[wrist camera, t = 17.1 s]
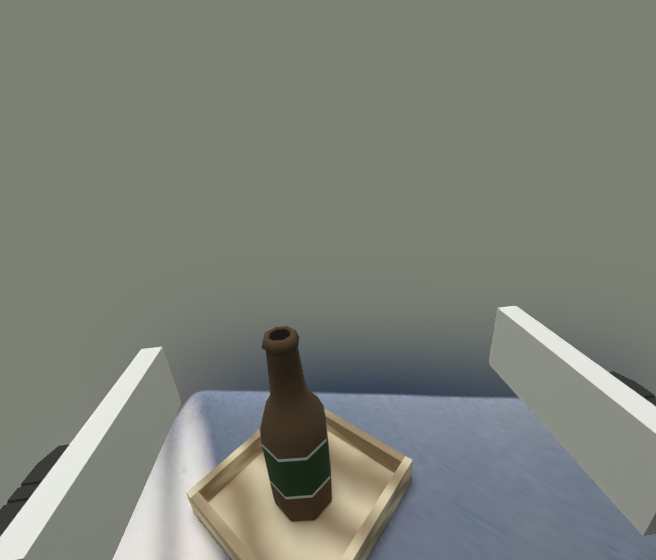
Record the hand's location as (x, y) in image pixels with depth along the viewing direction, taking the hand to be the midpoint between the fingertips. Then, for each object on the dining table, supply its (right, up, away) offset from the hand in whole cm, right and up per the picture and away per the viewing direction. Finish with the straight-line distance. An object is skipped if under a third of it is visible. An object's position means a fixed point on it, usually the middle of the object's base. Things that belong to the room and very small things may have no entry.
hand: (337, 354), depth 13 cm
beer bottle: (-3, -24, +28) cm, 37 cm away
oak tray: (-3, -25, +28) cm, 38 cm away
